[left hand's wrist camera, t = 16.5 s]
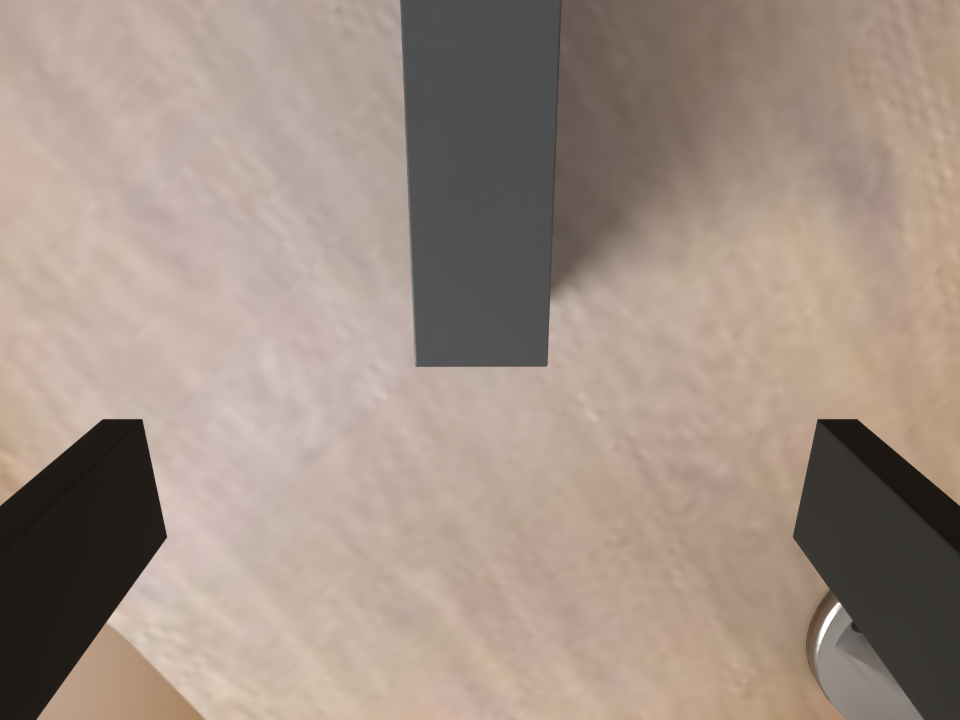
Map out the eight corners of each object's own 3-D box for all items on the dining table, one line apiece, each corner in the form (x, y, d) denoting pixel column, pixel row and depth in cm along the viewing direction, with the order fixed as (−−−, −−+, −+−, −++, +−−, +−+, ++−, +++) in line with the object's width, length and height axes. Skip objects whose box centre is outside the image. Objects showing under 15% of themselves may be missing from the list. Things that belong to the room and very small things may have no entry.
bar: (532, 309, 36) (547, 367, 28) (429, 310, 36) (414, 367, 28) (553, -396, 26) (585, -613, 18) (406, -395, 26) (374, -613, 18)
